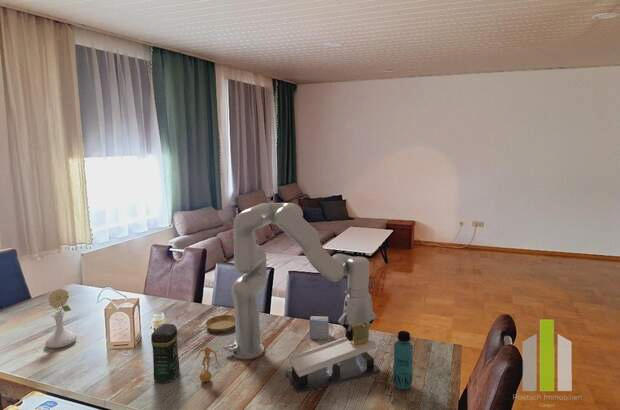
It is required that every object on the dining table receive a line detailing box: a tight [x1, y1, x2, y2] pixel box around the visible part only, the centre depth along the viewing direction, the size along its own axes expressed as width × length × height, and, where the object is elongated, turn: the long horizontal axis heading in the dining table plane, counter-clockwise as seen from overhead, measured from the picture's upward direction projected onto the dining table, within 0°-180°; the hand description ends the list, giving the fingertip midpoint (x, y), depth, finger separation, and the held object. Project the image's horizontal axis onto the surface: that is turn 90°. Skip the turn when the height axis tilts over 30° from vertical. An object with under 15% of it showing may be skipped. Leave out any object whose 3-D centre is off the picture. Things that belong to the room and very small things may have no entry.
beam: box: [288, 336, 377, 377], centre depth 144 cm, size 30×10×2 cm, turn 111°
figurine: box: [195, 346, 218, 383], centre depth 142 cm, size 8×6×12 cm
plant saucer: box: [205, 314, 235, 333], centre depth 184 cm, size 15×15×3 cm
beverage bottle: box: [392, 330, 414, 390], centre depth 135 cm, size 6×7×20 cm
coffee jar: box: [150, 323, 180, 383], centre depth 144 cm, size 10×8×19 cm
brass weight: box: [350, 323, 370, 345], centre depth 147 cm, size 6×6×6 cm
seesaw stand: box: [285, 351, 381, 394], centre depth 145 cm, size 32×12×7 cm, turn 112°
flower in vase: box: [45, 287, 78, 349], centre depth 168 cm, size 13×11×25 cm
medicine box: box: [309, 315, 330, 340], centre depth 172 cm, size 8×4×9 cm, turn 84°
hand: (357, 337), depth 147 cm, fingers closed on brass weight, 6 cm apart
